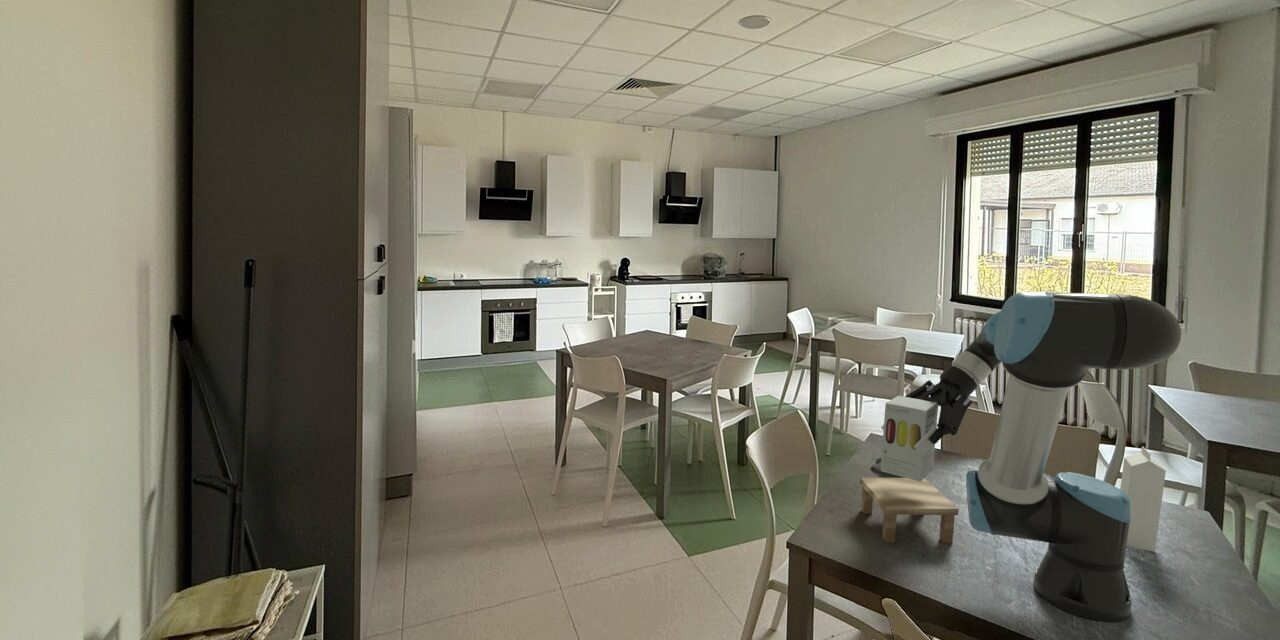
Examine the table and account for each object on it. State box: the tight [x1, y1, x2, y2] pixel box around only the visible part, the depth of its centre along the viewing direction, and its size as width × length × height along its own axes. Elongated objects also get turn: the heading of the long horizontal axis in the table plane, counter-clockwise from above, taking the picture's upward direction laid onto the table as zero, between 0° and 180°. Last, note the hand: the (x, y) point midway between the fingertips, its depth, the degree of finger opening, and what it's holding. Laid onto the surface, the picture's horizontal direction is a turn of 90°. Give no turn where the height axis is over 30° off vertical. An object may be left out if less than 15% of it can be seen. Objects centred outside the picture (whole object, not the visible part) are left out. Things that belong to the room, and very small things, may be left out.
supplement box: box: [879, 395, 939, 482], centre depth 141 cm, size 10×9×17 cm
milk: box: [1119, 446, 1167, 553], centre depth 135 cm, size 6×6×22 cm
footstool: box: [859, 477, 960, 544], centre depth 143 cm, size 17×16×8 cm
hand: (900, 440), depth 140 cm, fingers closed on supplement box, 13 cm apart
